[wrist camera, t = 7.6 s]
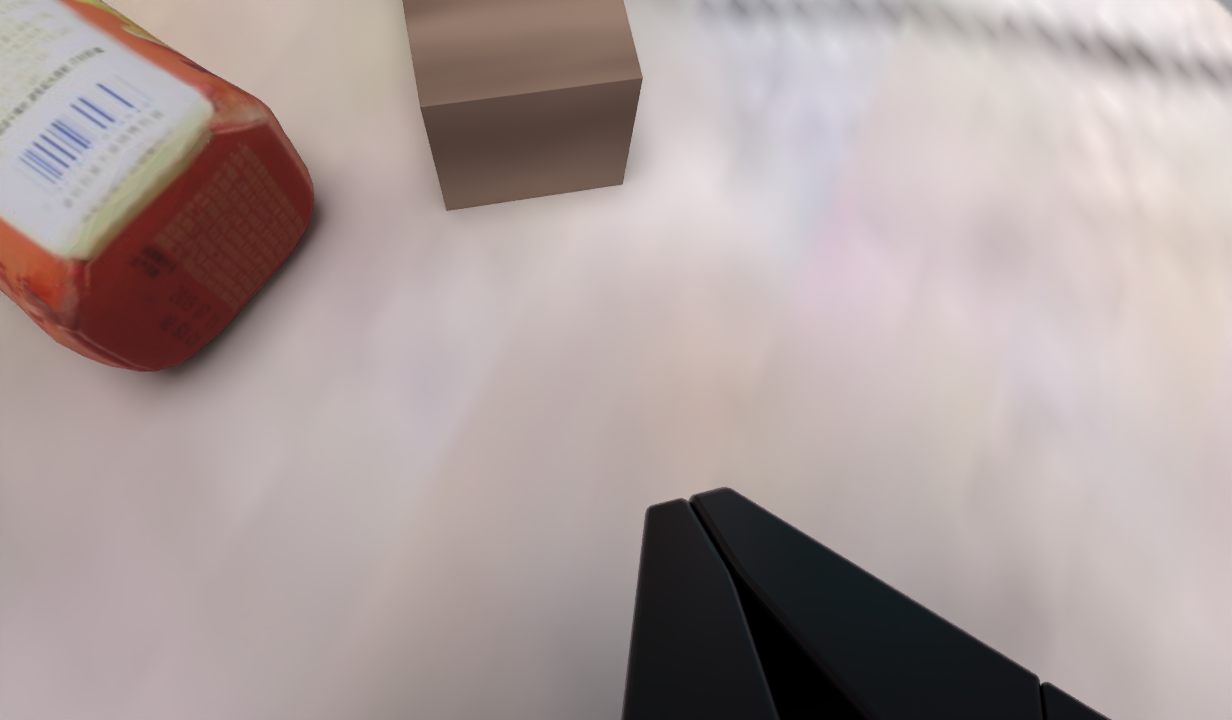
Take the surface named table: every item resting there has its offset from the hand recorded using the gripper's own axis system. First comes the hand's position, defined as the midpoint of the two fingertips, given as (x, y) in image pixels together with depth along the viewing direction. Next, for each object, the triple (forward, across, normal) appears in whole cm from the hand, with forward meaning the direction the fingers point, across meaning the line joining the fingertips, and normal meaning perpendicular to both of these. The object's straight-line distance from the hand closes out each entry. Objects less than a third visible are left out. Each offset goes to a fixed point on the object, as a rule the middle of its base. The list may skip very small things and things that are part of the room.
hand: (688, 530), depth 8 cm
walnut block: (+14, 0, 0) cm, 14 cm away
